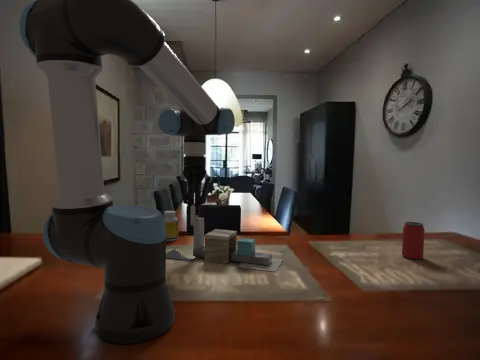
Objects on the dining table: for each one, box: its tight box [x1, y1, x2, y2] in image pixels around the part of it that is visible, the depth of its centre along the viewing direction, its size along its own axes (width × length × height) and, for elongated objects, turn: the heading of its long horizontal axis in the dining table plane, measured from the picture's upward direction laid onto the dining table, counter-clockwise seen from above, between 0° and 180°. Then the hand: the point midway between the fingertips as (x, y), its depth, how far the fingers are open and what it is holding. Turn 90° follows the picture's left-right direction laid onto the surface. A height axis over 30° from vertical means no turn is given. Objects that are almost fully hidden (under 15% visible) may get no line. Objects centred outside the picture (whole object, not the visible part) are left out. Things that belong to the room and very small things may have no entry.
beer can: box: [401, 221, 426, 261], centre depth 109 cm, size 7×7×12 cm
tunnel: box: [204, 228, 238, 264], centre depth 104 cm, size 9×8×9 cm
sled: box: [192, 217, 273, 265], centre depth 103 cm, size 5×26×12 cm, turn 72°
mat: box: [237, 257, 284, 273], centre depth 100 cm, size 12×12×1 cm
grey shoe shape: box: [166, 247, 194, 262], centre depth 109 cm, size 12×12×1 cm
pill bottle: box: [163, 210, 179, 242], centre depth 128 cm, size 6×6×12 cm
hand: (194, 224), depth 107 cm, fingers closed
